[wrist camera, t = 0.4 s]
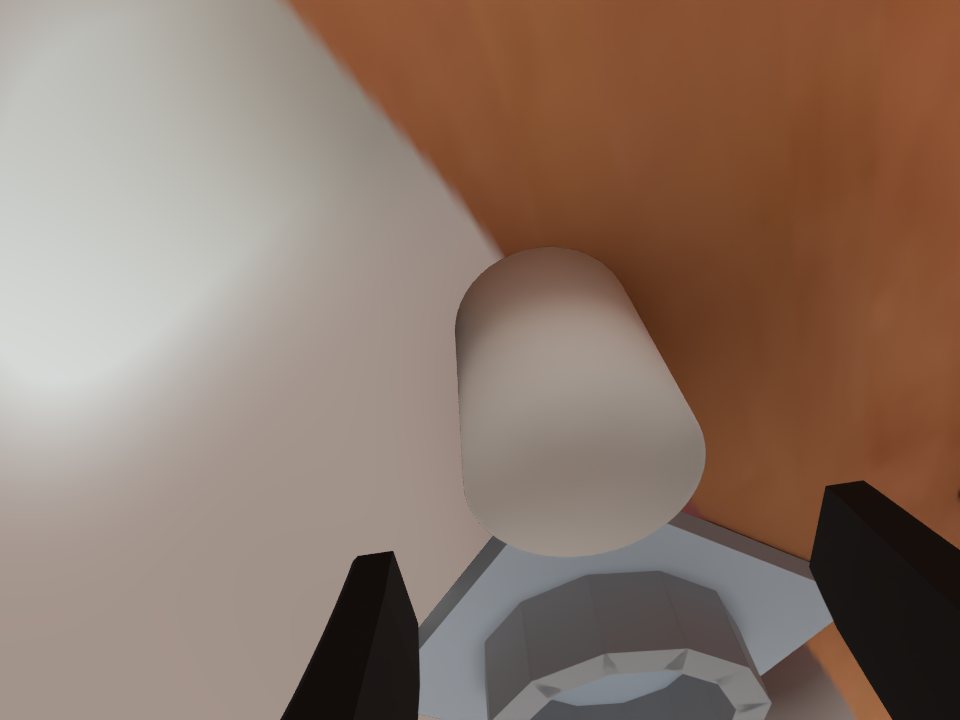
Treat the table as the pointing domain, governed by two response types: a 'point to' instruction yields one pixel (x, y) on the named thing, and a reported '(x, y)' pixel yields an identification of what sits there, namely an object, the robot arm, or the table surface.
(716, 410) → the table surface
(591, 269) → the white rounded cylinder
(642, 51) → the table surface
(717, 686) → the square flange mount
